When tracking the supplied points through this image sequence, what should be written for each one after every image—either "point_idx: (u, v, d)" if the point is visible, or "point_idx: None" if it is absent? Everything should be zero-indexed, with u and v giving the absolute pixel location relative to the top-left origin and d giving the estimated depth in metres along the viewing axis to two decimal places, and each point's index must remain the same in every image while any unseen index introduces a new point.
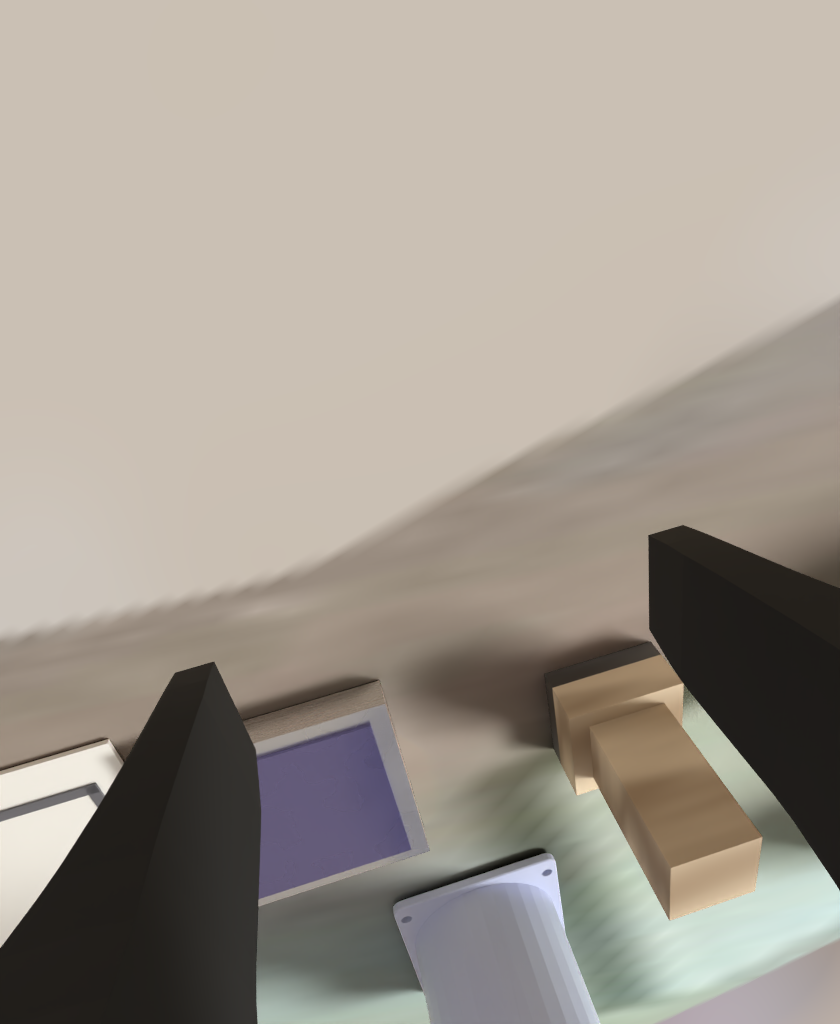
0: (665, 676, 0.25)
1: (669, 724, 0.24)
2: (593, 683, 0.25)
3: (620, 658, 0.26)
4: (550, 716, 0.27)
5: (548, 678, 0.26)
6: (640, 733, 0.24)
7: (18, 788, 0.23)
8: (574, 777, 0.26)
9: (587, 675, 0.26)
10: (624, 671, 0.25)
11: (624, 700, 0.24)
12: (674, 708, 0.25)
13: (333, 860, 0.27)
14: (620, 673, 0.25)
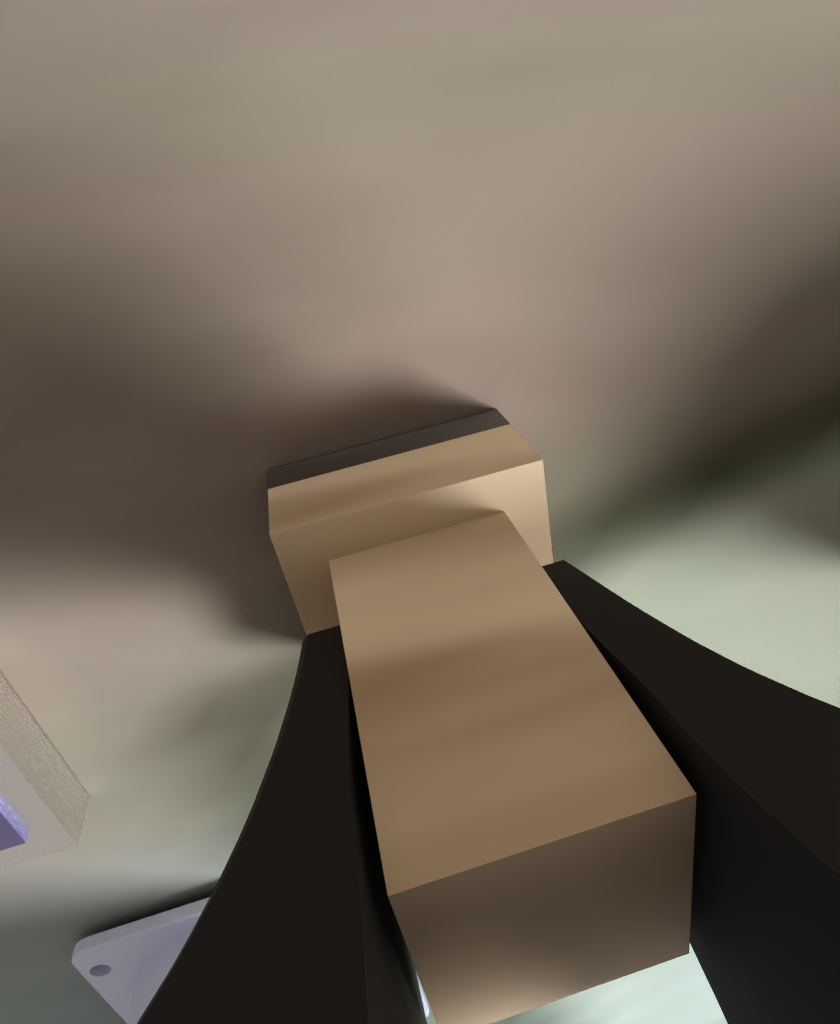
0: (507, 453, 0.11)
1: (502, 545, 0.10)
2: (353, 475, 0.11)
3: (427, 436, 0.12)
4: None
5: (271, 475, 0.12)
6: (432, 565, 0.10)
7: None
8: None
9: (348, 465, 0.12)
10: (426, 453, 0.12)
11: (402, 496, 0.10)
12: (530, 528, 0.11)
13: None
14: (416, 456, 0.12)
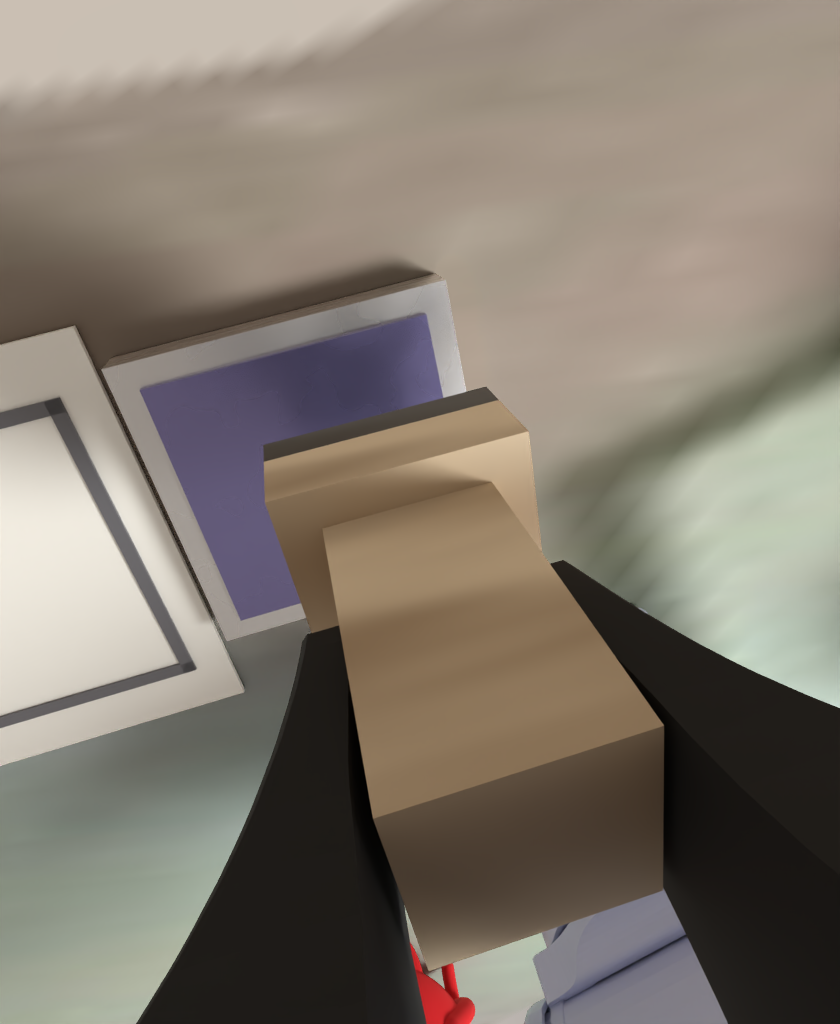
0: (495, 426, 0.11)
1: (489, 512, 0.11)
2: (346, 448, 0.12)
3: (418, 412, 0.13)
4: None
5: (266, 449, 0.12)
6: (421, 531, 0.10)
7: None
8: None
9: (342, 439, 0.12)
10: (416, 427, 0.12)
11: (393, 466, 0.11)
12: (517, 498, 0.12)
13: None
14: (407, 430, 0.12)
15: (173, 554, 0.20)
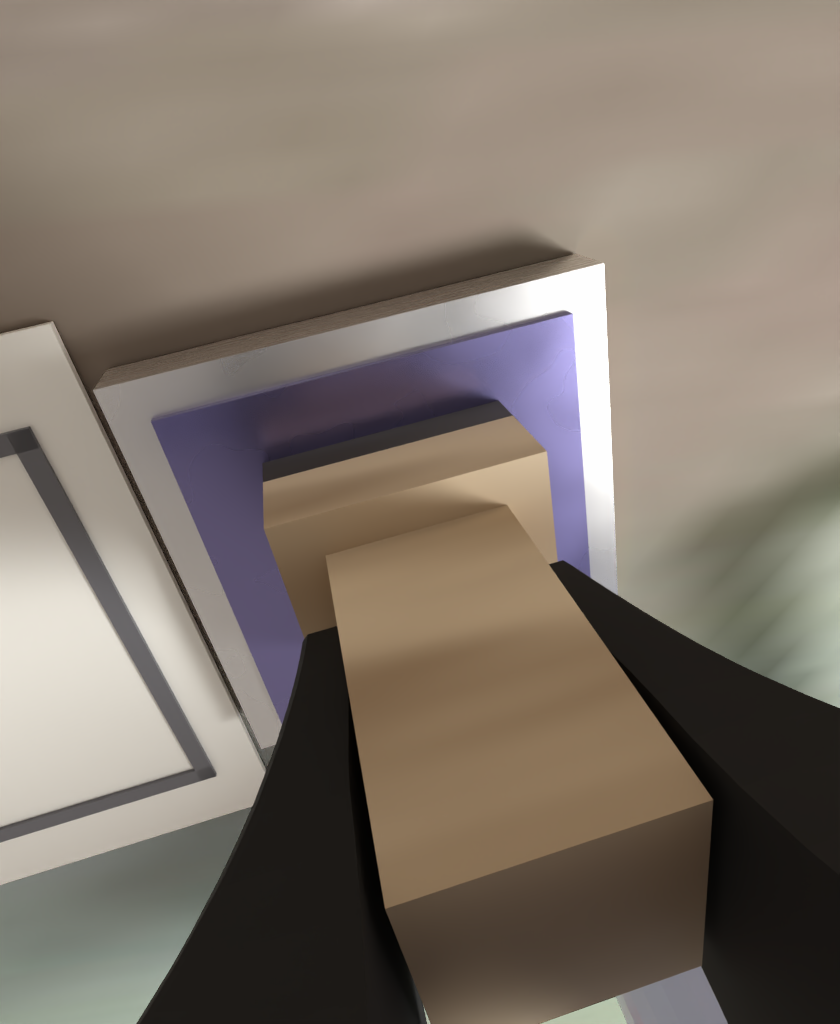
0: (510, 444, 0.11)
1: (505, 540, 0.10)
2: (351, 468, 0.11)
3: (427, 428, 0.12)
4: None
5: (265, 468, 0.12)
6: (432, 560, 0.10)
7: None
8: None
9: (346, 457, 0.11)
10: (426, 445, 0.11)
11: (401, 489, 0.10)
12: (534, 522, 0.11)
13: None
14: (416, 449, 0.11)
15: (190, 635, 0.15)
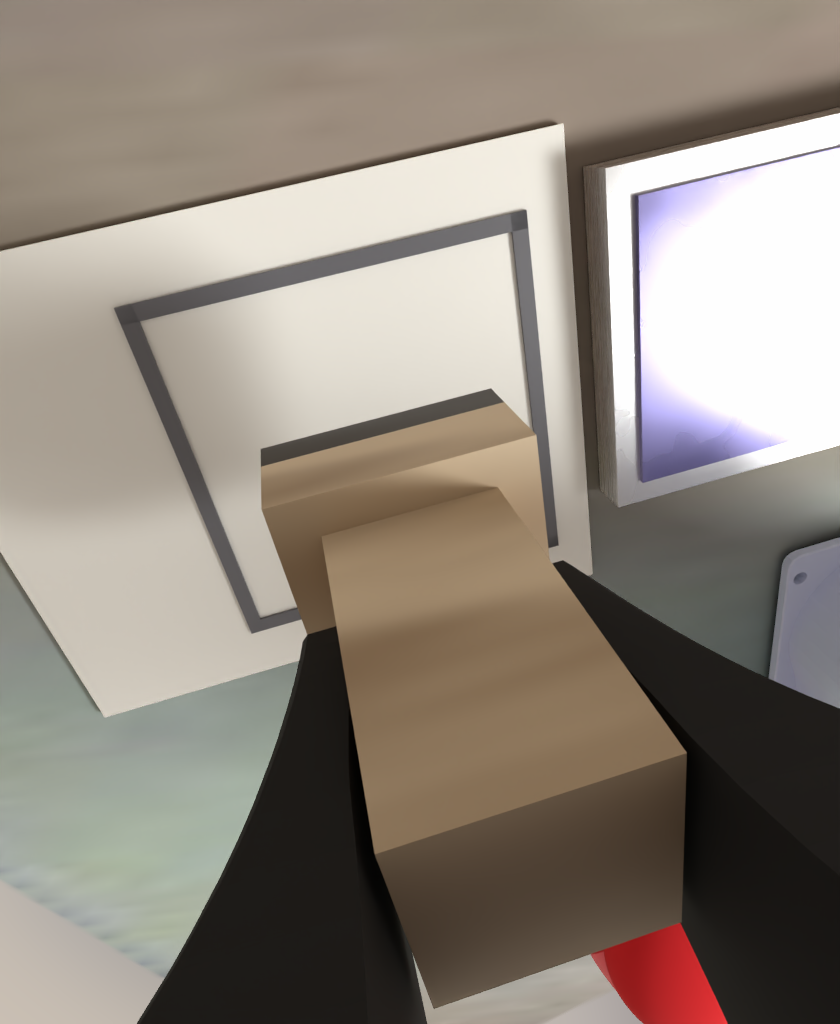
0: (501, 429, 0.11)
1: (496, 520, 0.10)
2: (347, 452, 0.11)
3: (421, 414, 0.12)
4: None
5: (263, 454, 0.12)
6: (425, 539, 0.10)
7: (426, 194, 0.15)
8: None
9: (342, 443, 0.12)
10: (419, 430, 0.12)
11: (395, 471, 0.10)
12: (524, 504, 0.11)
13: (789, 413, 0.19)
14: (410, 434, 0.12)
15: (576, 408, 0.19)
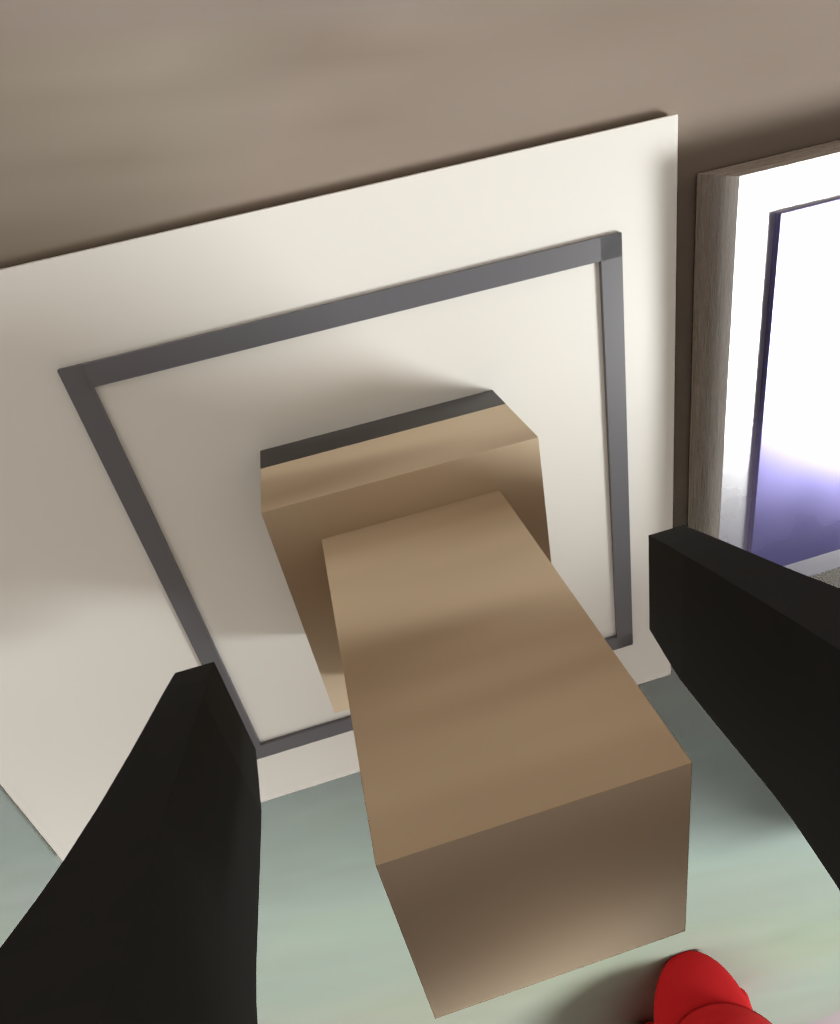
0: (502, 431, 0.11)
1: (497, 523, 0.10)
2: (347, 454, 0.11)
3: (421, 416, 0.12)
4: None
5: (263, 456, 0.12)
6: (426, 543, 0.10)
7: (488, 213, 0.11)
8: (320, 671, 0.12)
9: (342, 445, 0.12)
10: (420, 432, 0.12)
11: (396, 473, 0.10)
12: (526, 507, 0.11)
13: None
14: (410, 436, 0.11)
15: (665, 483, 0.15)
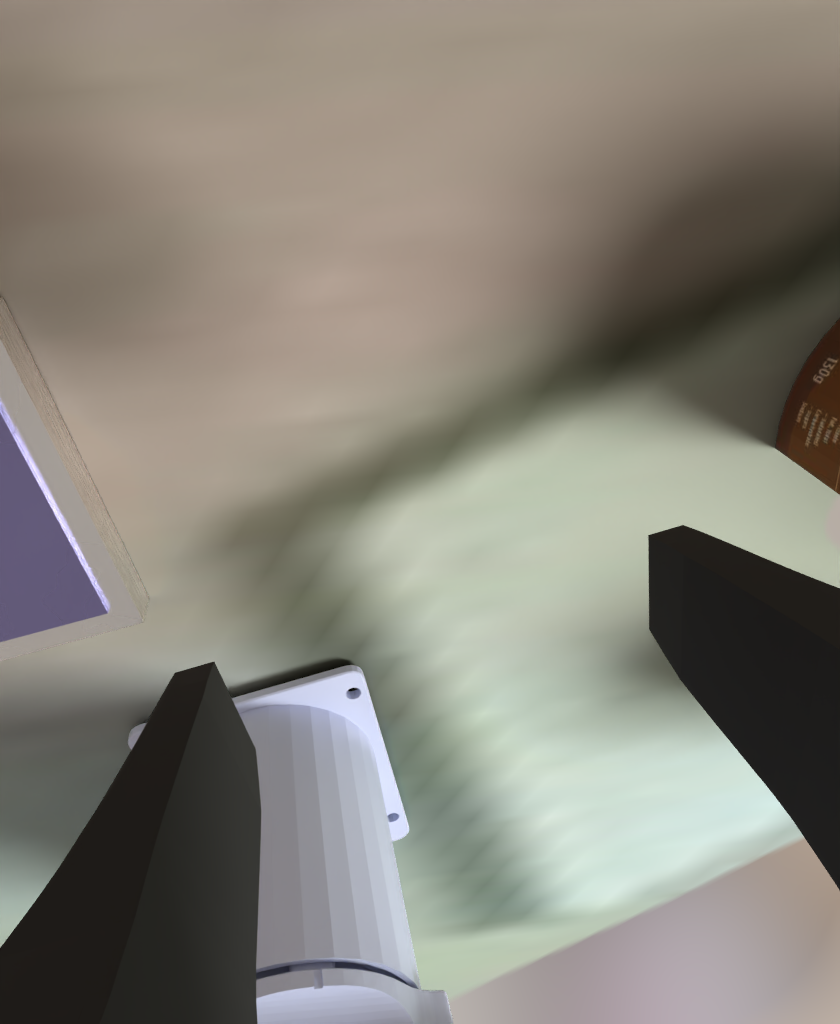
0: None
1: None
2: None
3: None
4: None
5: None
6: None
7: None
8: None
9: None
10: None
11: None
12: None
13: None
14: None
15: None
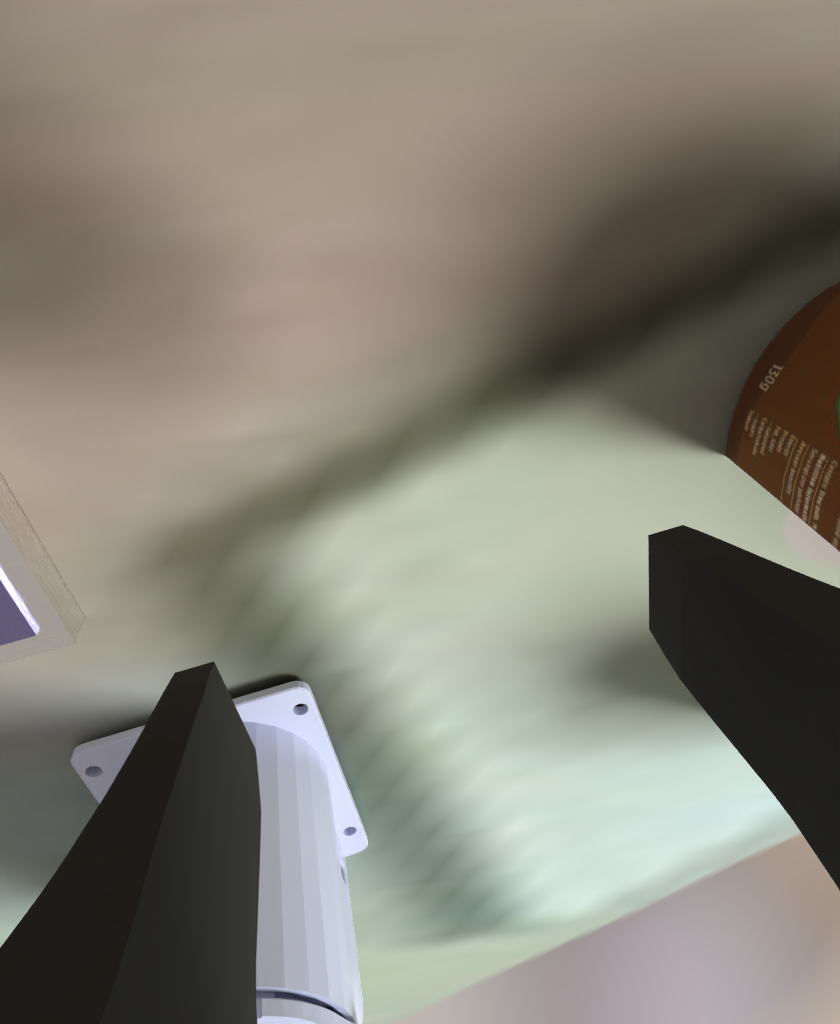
0: None
1: None
2: None
3: None
4: None
5: None
6: None
7: None
8: None
9: None
10: None
11: None
12: None
13: None
14: None
15: None
